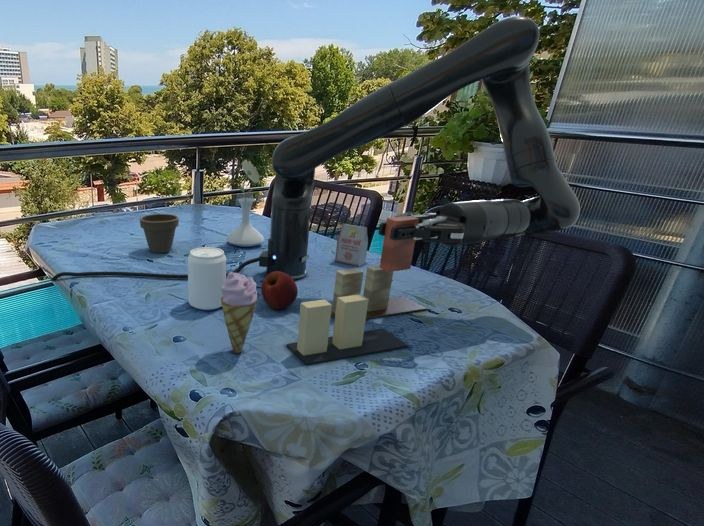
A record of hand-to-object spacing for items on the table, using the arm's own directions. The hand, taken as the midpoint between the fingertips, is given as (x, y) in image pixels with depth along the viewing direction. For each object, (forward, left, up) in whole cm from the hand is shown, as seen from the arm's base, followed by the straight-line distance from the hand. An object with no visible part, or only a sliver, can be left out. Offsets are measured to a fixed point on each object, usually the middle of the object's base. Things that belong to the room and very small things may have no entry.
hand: (386, 231), depth 79 cm
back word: (+1, +12, -20) cm, 23 cm away
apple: (-18, +8, -20) cm, 28 cm away
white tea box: (-4, +43, -20) cm, 48 cm away
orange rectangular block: (+2, +2, -7) cm, 8 cm away
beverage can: (-33, +5, -20) cm, 39 cm away
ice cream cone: (-22, -13, -20) cm, 33 cm away
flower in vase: (-35, +53, -20) cm, 67 cm away
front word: (-4, -6, -20) cm, 21 cm away
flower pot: (-58, +40, -20) cm, 74 cm away
